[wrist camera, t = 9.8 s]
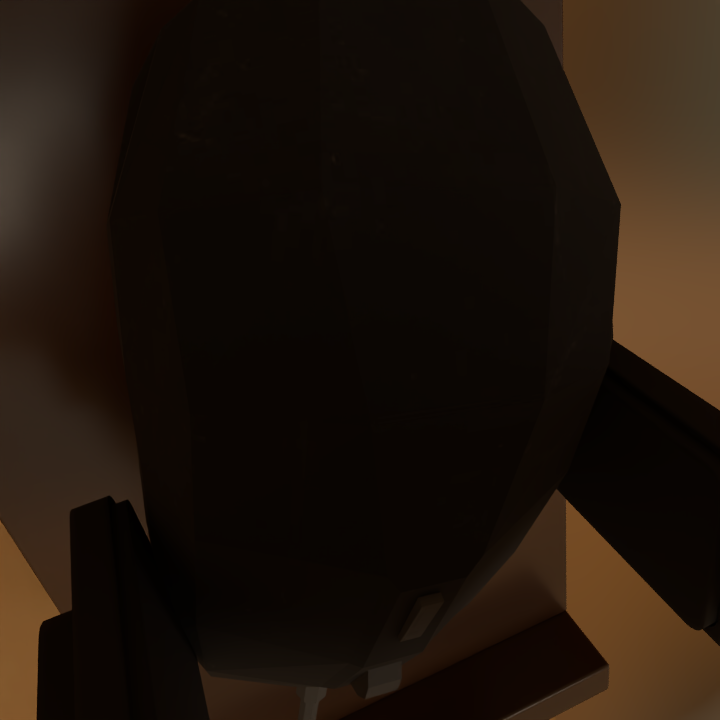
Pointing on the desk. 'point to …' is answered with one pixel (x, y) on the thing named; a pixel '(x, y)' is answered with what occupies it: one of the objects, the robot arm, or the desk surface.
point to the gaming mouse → (353, 319)
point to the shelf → (111, 399)
